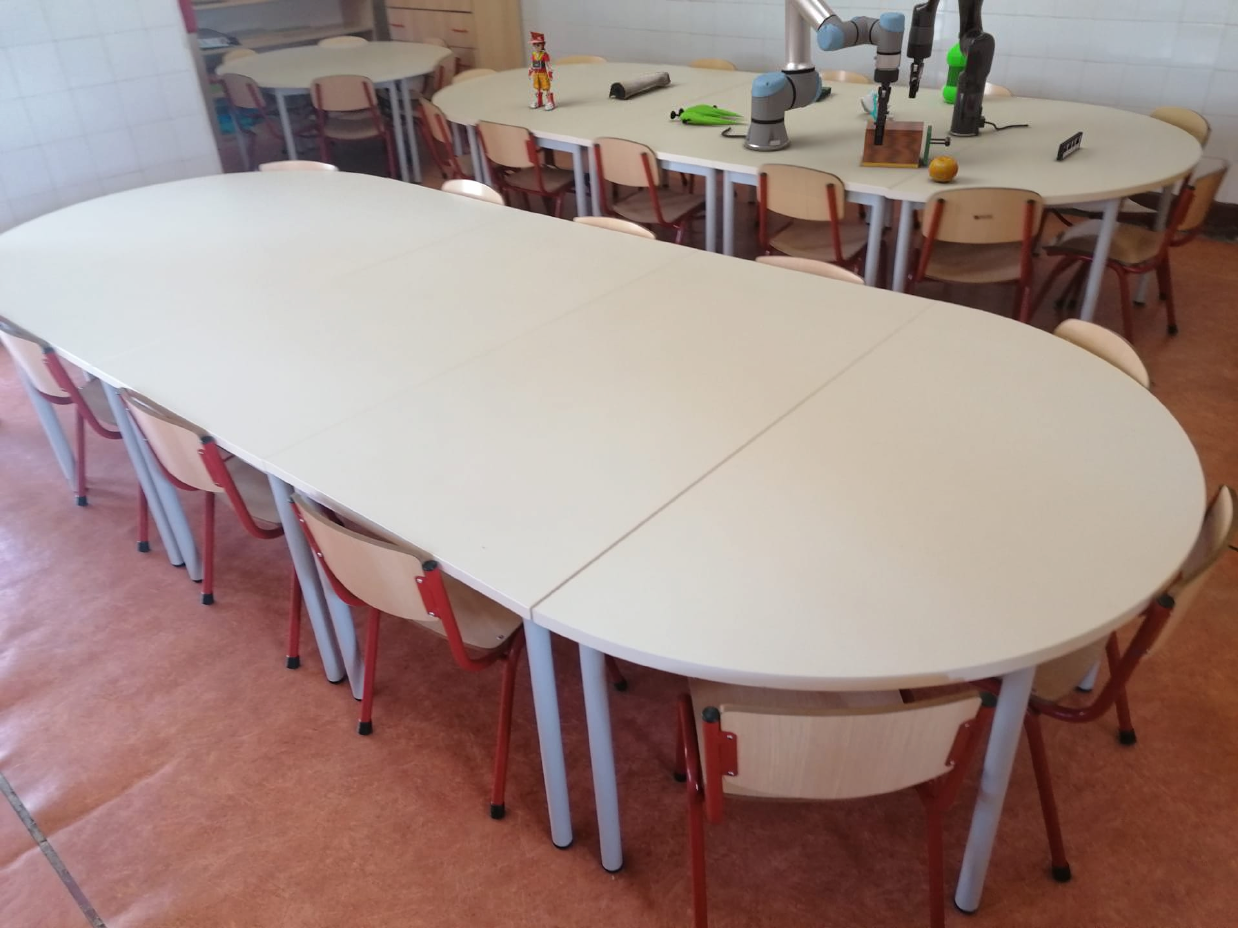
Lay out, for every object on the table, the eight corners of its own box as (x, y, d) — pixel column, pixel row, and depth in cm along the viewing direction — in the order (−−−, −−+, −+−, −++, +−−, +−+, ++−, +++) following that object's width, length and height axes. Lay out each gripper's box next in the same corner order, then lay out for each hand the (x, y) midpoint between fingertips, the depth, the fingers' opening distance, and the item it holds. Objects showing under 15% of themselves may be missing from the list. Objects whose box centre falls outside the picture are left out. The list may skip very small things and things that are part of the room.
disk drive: (818, 102, 366) (831, 94, 376) (818, 95, 364) (831, 87, 374) (794, 100, 370) (807, 92, 380) (794, 93, 369) (808, 85, 379)
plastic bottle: (973, 101, 354) (984, 32, 339) (955, 106, 349) (966, 36, 335) (952, 97, 361) (962, 29, 346) (934, 102, 356) (944, 33, 342)
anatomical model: (855, 90, 344) (881, 82, 343) (857, 117, 350) (883, 110, 349) (867, 99, 332) (894, 92, 331) (869, 127, 337) (896, 120, 337)
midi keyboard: (1060, 160, 287) (1063, 145, 284) (1056, 160, 288) (1059, 144, 285) (1079, 147, 298) (1083, 132, 295) (1075, 147, 298) (1079, 131, 296)
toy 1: (525, 109, 381) (517, 32, 364) (534, 104, 388) (527, 28, 371) (550, 110, 377) (543, 32, 360) (559, 105, 384) (553, 28, 367)
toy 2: (660, 123, 346) (729, 136, 334) (661, 109, 344) (731, 121, 331) (693, 112, 367) (760, 123, 354) (694, 98, 364) (762, 110, 351)
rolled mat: (651, 76, 408) (662, 61, 399) (662, 93, 408) (674, 79, 400) (605, 92, 391) (616, 77, 383) (617, 110, 391) (628, 95, 383)
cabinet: (918, 158, 298) (923, 121, 291) (918, 167, 290) (923, 130, 283) (864, 156, 302) (868, 120, 296) (861, 165, 294) (865, 129, 288)
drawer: (947, 156, 294) (952, 126, 289) (947, 165, 287) (952, 133, 282) (876, 154, 300) (879, 124, 295) (874, 162, 293) (878, 131, 288)
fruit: (922, 172, 274) (939, 148, 271) (923, 174, 282) (940, 151, 279) (945, 187, 273) (963, 164, 270) (946, 189, 281) (963, 166, 278)
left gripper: (877, 60, 291) (869, 130, 303) (872, 76, 273) (864, 150, 285) (901, 60, 289) (892, 131, 301) (897, 76, 271) (889, 150, 283)
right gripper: (910, 36, 288) (903, 90, 298) (905, 45, 278) (898, 100, 287) (935, 37, 286) (927, 90, 295) (931, 45, 275) (923, 101, 284)
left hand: (879, 140), depth 293 cm, fingers closed on cabinet, 10 cm apart
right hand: (913, 95), depth 291 cm, fingers open, 8 cm apart
